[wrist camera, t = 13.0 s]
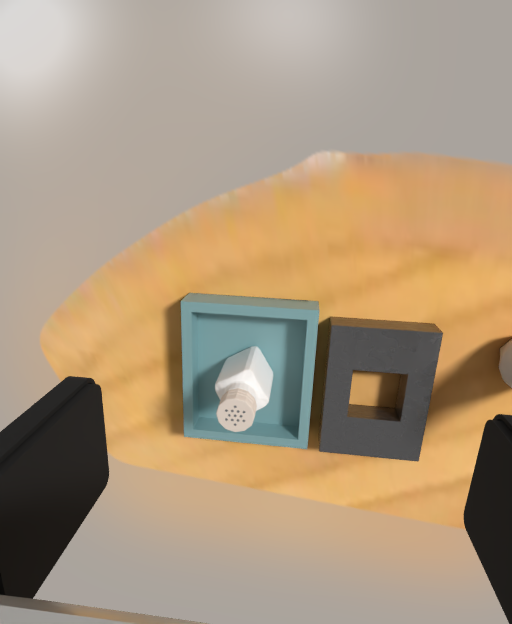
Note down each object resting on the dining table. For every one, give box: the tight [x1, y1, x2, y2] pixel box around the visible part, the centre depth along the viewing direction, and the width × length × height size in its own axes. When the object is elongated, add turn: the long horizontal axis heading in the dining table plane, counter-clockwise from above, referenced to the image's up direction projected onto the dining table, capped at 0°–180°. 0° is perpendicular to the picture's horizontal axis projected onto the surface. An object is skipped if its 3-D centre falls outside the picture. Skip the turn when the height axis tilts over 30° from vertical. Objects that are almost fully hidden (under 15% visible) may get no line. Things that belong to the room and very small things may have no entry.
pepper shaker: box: [215, 346, 273, 432], centre depth 38 cm, size 4×4×10 cm
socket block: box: [319, 317, 443, 461], centre depth 41 cm, size 10×14×2 cm
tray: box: [181, 293, 319, 449], centre depth 41 cm, size 13×15×3 cm
